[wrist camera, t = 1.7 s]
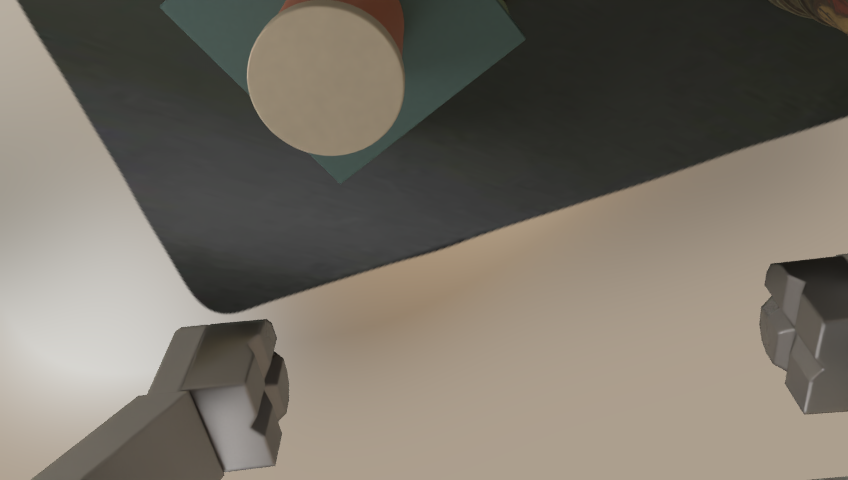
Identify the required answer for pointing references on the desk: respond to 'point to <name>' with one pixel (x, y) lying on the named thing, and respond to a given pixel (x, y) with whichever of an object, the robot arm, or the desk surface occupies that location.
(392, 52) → the canister
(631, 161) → the desk surface
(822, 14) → the container
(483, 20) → the lidded square case
